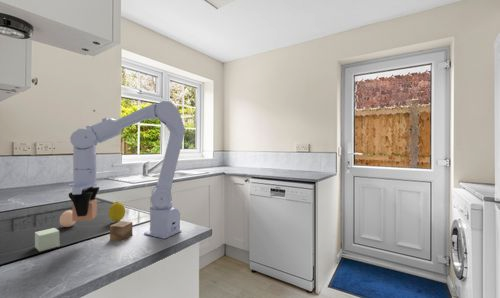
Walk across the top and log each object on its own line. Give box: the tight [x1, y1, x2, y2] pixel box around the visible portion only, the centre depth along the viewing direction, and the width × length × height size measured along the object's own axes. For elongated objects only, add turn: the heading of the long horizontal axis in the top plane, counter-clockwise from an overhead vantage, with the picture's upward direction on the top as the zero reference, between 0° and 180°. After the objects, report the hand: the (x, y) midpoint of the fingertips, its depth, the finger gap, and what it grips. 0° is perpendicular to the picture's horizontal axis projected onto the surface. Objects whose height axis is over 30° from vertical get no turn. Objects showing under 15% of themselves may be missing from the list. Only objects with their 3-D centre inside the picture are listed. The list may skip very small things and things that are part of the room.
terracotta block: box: [71, 198, 98, 222], centre depth 72 cm, size 5×5×5 cm
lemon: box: [108, 201, 126, 223], centre depth 90 cm, size 6×6×8 cm
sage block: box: [34, 227, 61, 252], centre depth 69 cm, size 4×4×4 cm
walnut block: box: [109, 220, 133, 242], centre depth 76 cm, size 4×4×4 cm
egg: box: [59, 209, 77, 228], centre depth 85 cm, size 5×5×6 cm
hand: (85, 213), depth 72 cm, fingers closed on terracotta block, 5 cm apart
